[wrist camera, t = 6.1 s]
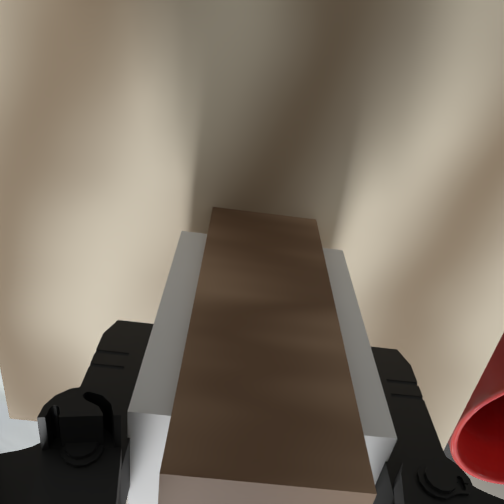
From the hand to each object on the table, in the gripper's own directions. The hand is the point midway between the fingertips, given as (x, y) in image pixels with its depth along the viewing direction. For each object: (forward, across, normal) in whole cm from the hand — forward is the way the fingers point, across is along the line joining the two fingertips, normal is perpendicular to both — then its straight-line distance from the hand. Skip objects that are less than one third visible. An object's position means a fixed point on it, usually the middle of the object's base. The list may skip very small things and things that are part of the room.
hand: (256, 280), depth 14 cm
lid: (+2, 0, 0) cm, 2 cm away
